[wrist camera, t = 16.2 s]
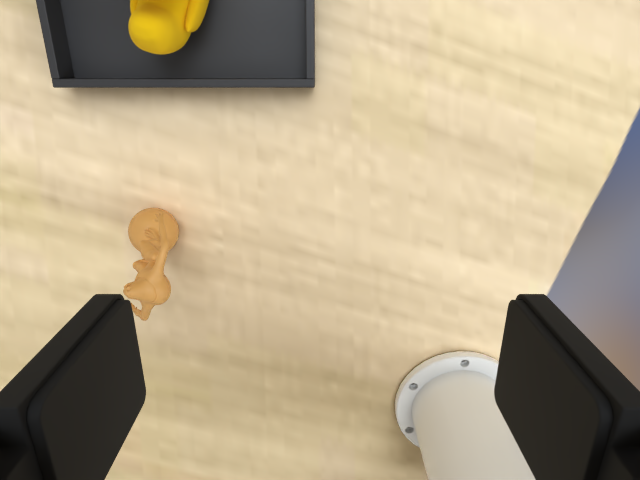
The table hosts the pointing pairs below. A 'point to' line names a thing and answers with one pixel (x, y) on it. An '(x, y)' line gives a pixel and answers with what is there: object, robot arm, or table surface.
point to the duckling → (164, 23)
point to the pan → (193, 58)
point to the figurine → (151, 258)
